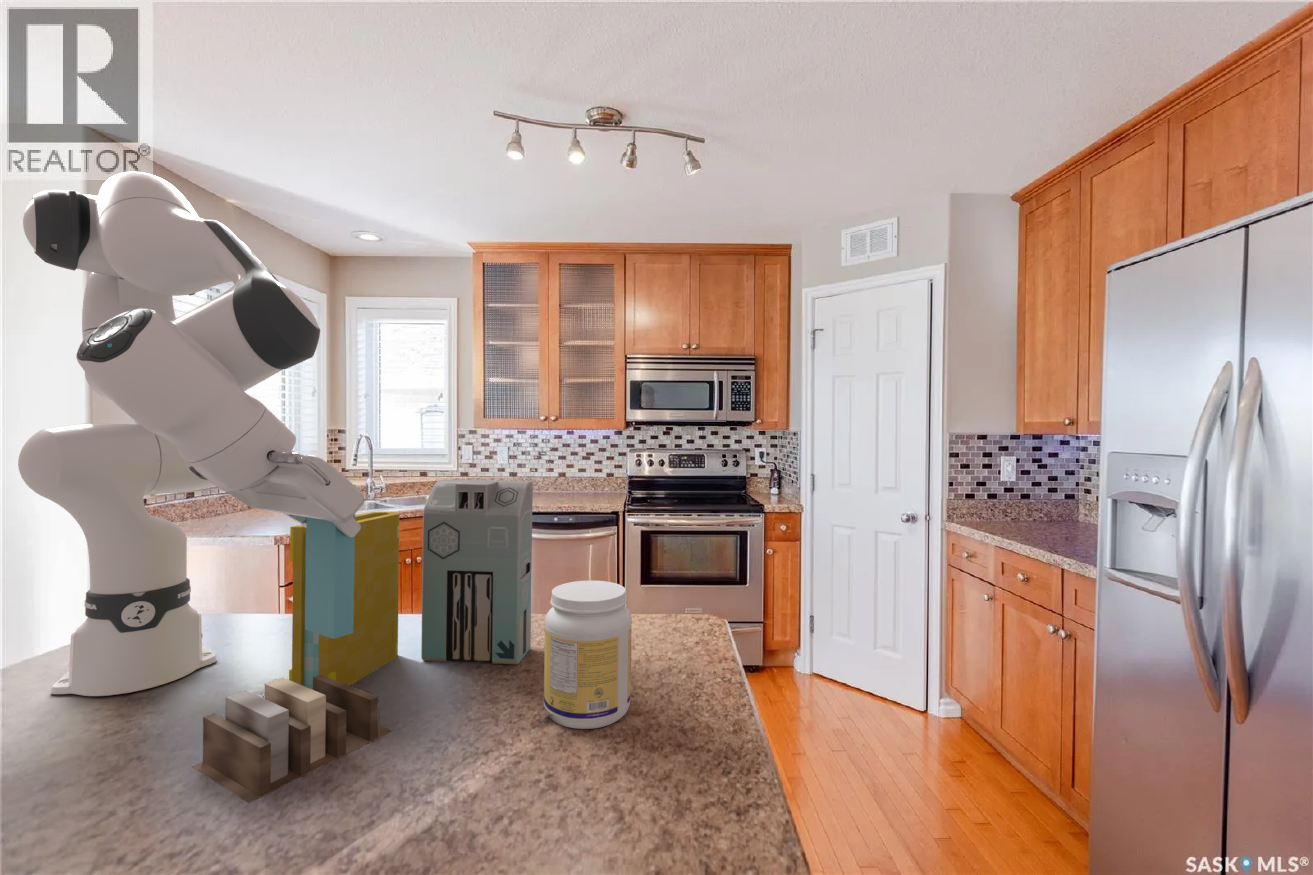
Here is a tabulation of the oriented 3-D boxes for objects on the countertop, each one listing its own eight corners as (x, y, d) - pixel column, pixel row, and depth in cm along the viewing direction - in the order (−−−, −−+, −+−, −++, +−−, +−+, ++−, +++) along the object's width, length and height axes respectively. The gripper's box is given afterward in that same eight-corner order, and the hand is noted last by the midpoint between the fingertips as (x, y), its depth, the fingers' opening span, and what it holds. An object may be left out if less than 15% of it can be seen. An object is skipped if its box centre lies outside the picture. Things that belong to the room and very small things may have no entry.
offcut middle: (263, 742, 67) (264, 683, 67) (282, 734, 69) (282, 677, 69) (307, 765, 63) (307, 702, 63) (325, 756, 65) (325, 695, 65)
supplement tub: (575, 683, 88) (577, 574, 88) (645, 701, 82) (647, 585, 82) (524, 719, 77) (526, 594, 77) (601, 742, 71) (603, 608, 71)
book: (330, 709, 78) (332, 529, 78) (288, 704, 80) (290, 526, 80) (407, 661, 95) (409, 512, 95) (371, 658, 96) (373, 510, 96)
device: (420, 662, 95) (422, 483, 95) (441, 645, 103) (442, 479, 102) (517, 666, 94) (519, 485, 94) (530, 648, 102) (533, 481, 101)
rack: (191, 779, 62) (192, 720, 62) (335, 717, 76) (335, 669, 76) (248, 817, 57) (249, 752, 56) (392, 742, 70) (393, 690, 70)
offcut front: (225, 759, 64) (225, 697, 64) (245, 750, 66) (245, 690, 66) (267, 784, 59) (268, 717, 59) (288, 774, 61) (288, 709, 61)
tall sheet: (304, 629, 70) (307, 483, 70) (324, 623, 72) (326, 481, 72) (333, 638, 67) (336, 486, 67) (353, 632, 69) (355, 484, 69)
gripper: (324, 432, 58) (406, 516, 67) (225, 429, 68) (307, 502, 77) (277, 478, 54) (370, 561, 63) (179, 468, 64) (271, 540, 73)
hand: (335, 529), depth 70 cm, fingers closed on tall sheet, 6 cm apart
